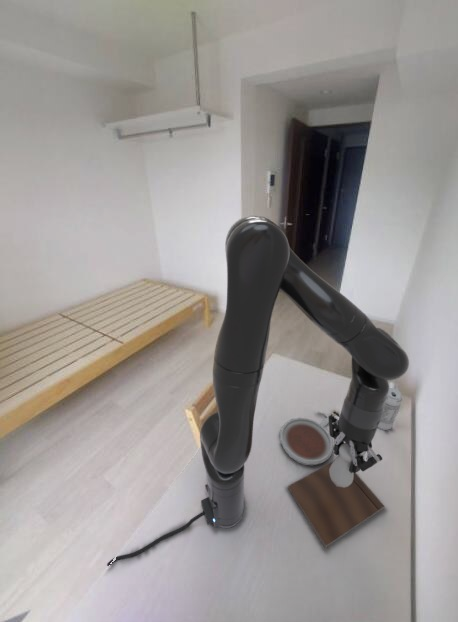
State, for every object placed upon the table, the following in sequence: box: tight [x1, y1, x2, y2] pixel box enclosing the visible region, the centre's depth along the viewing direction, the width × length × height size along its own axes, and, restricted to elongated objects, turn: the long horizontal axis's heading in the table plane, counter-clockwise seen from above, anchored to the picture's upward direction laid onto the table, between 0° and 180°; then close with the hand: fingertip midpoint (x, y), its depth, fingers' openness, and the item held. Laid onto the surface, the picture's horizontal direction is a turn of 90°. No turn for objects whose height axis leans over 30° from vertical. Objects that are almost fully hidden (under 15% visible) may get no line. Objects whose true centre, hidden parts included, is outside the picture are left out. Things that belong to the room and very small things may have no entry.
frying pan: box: [279, 409, 340, 466], centre depth 92 cm, size 17×3×28 cm
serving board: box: [287, 462, 385, 549], centre depth 74 cm, size 20×15×2 cm
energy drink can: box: [377, 387, 403, 431], centre depth 92 cm, size 6×6×15 cm
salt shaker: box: [329, 442, 354, 488], centre depth 68 cm, size 6×6×13 cm
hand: (345, 461), depth 67 cm, fingers closed on salt shaker, 4 cm apart
